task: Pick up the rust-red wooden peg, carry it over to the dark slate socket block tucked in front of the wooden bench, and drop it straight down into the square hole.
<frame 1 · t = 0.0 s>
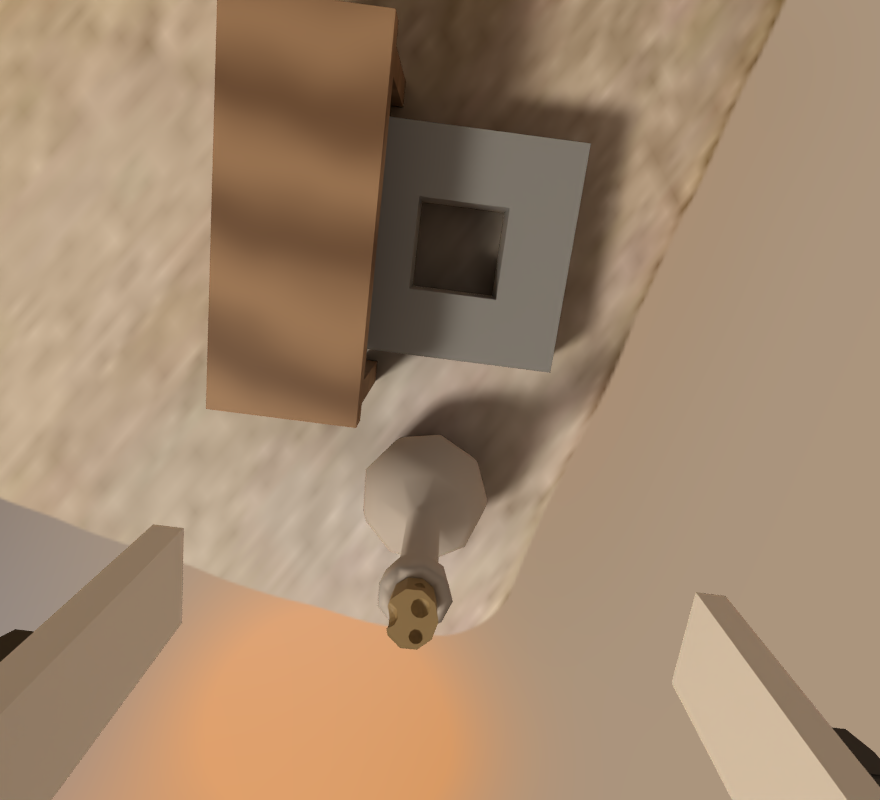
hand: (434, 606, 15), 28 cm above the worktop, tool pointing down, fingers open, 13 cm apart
socket block: (457, 249, 40), on the worktop
potion bottle: (428, 477, 44), on the worktop
wooden bench: (270, 225, 39), on the worktop
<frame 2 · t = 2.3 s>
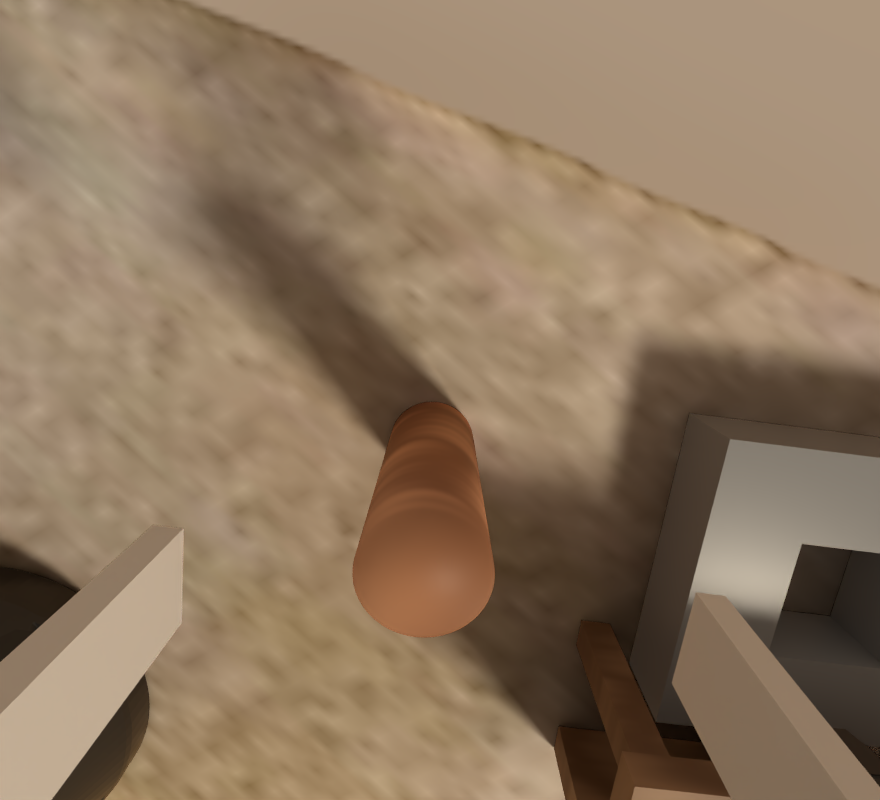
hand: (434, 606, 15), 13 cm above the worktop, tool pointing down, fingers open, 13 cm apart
peg: (431, 441, 28), on the worktop
socket block: (792, 561, 29), on the worktop
wooden bench: (729, 767, 32), on the worktop
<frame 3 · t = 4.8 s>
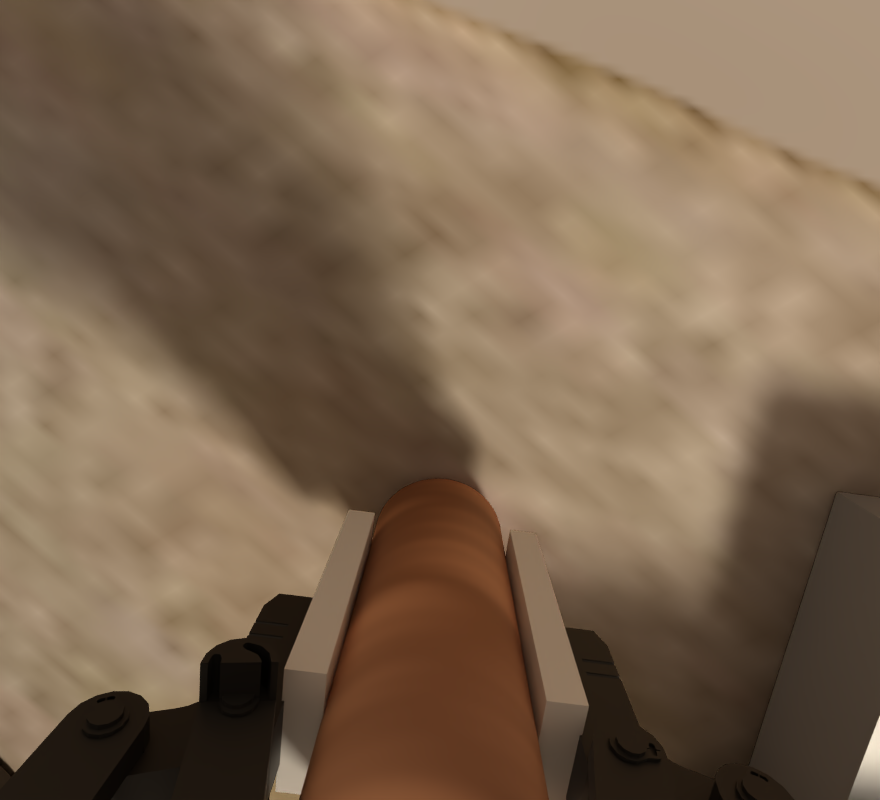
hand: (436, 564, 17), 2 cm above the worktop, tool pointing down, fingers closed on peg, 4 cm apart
peg: (438, 537, 18), point 1 cm above the worktop, touching gripper
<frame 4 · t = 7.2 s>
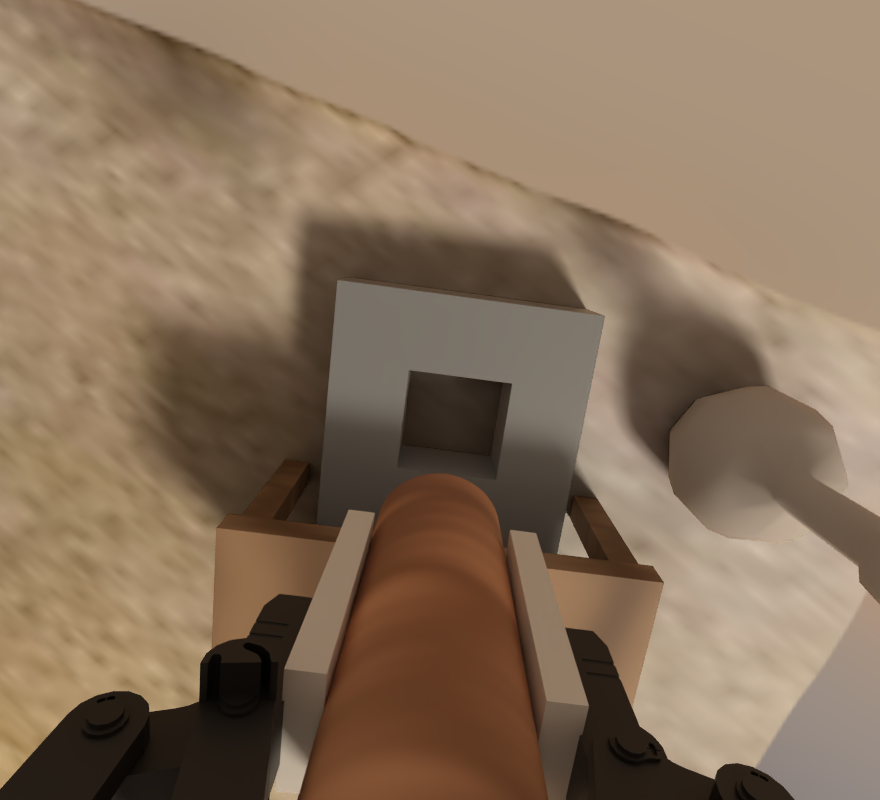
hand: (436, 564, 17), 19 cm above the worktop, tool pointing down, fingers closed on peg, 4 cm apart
peg: (437, 531, 19), point 17 cm above the worktop, touching gripper
socket block: (452, 407, 35), on the worktop
potion bottle: (721, 441, 36), on the worktop
wooden bench: (426, 593, 38), on the worktop
when the fingers open (6 cm above the worktop, at t = 9.8 s): peg drops 2 cm, resting in socket block.
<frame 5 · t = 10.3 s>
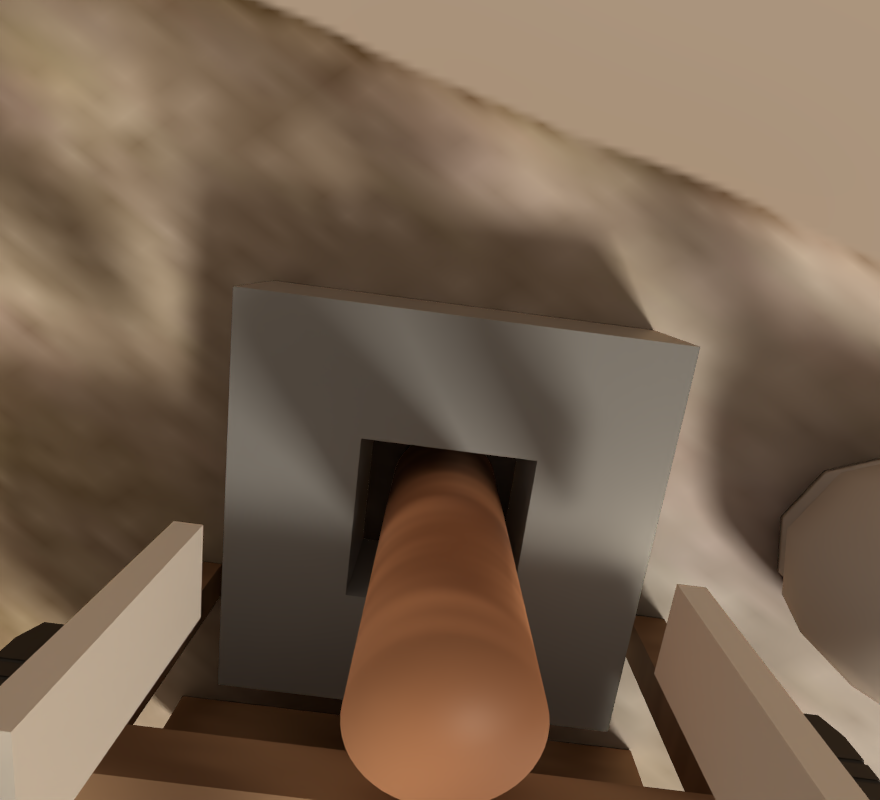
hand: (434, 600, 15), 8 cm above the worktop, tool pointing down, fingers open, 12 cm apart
peg: (443, 482, 23), resting in socket block
socket block: (440, 483, 23), on the worktop
potion bottle: (859, 534, 23), on the worktop
wooden bench: (403, 750, 26), on the worktop
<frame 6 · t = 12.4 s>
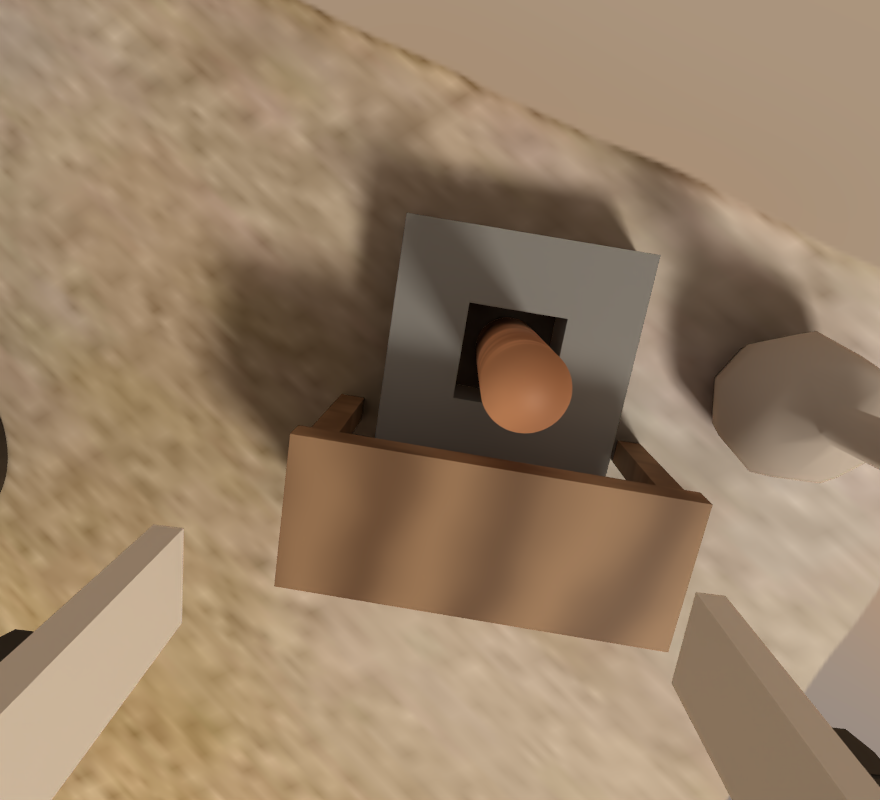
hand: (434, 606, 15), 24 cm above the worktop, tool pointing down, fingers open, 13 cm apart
peg: (506, 348, 37), resting in socket block
socket block: (504, 348, 37), on the worktop
potion bottle: (764, 391, 37), on the worktop
wooden bench: (469, 531, 40), on the worktop
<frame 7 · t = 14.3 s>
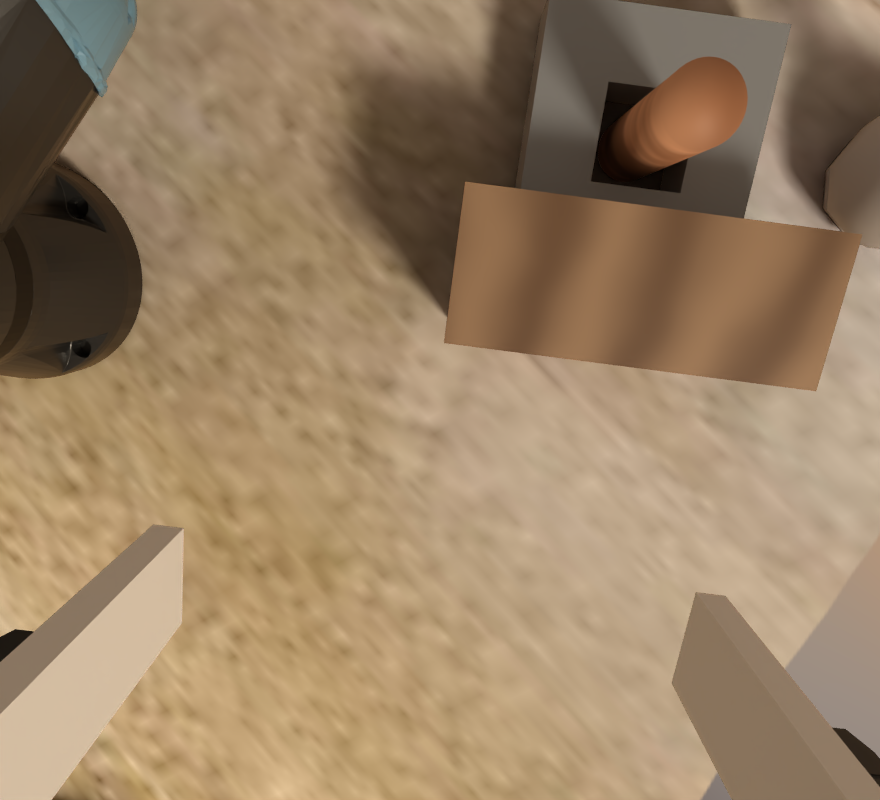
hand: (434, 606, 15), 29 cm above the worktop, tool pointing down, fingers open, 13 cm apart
peg: (627, 150, 38), resting in socket block
socket block: (625, 150, 38), on the worktop
potion bottle: (871, 184, 39), on the worktop
wooden bench: (589, 341, 42), on the worktop
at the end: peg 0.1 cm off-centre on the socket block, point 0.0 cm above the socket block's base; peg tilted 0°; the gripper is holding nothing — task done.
